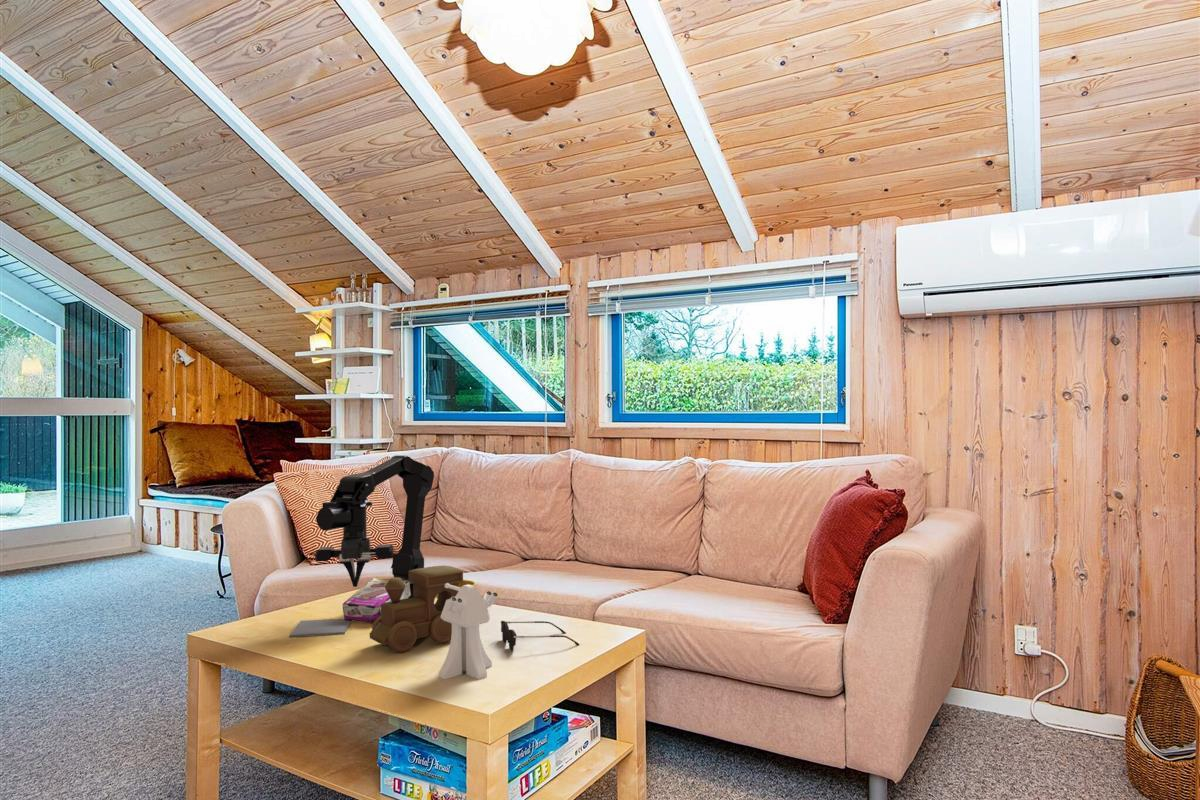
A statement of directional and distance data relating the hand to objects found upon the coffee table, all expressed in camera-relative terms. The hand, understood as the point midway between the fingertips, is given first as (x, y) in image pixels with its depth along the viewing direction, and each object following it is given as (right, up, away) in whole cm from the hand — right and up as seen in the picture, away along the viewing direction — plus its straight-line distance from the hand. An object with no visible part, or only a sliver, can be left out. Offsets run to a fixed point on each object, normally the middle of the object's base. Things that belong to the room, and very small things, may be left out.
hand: (355, 586), depth 204 cm
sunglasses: (+48, -10, -17) cm, 52 cm away
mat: (-8, -10, -2) cm, 13 cm away
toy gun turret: (+34, -9, -37) cm, 51 cm away
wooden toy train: (+19, -10, -16) cm, 27 cm away
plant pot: (+25, -10, +3) cm, 27 cm away
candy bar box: (+1, -7, +1) cm, 8 cm away
